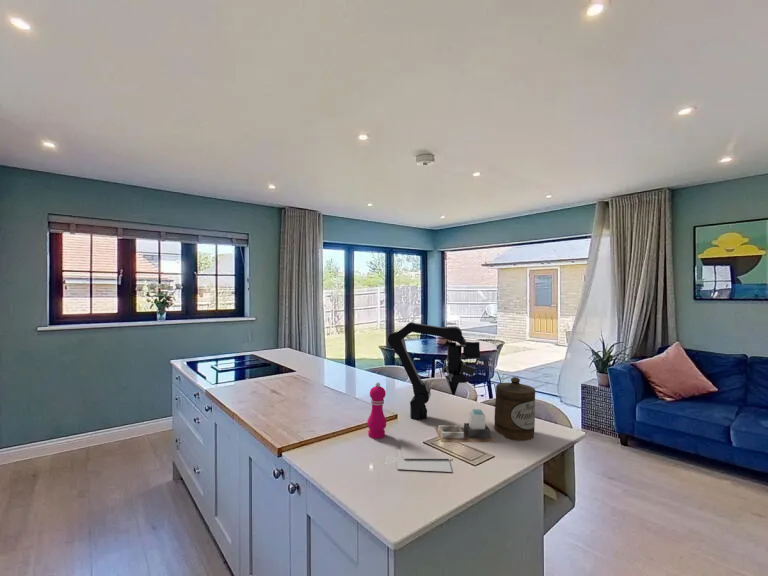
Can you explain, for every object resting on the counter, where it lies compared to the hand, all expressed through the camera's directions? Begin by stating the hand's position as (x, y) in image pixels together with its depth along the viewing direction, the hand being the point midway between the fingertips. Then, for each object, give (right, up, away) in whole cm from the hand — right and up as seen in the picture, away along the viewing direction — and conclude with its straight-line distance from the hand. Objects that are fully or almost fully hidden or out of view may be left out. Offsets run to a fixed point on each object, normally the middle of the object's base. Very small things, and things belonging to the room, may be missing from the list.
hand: (453, 394), depth 155 cm
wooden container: (+22, -13, -9) cm, 27 cm away
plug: (+6, -11, -14) cm, 19 cm away
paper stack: (-21, -12, -39) cm, 46 cm away
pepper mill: (-32, -11, -15) cm, 37 cm away
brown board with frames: (+1, -12, -14) cm, 18 cm away
